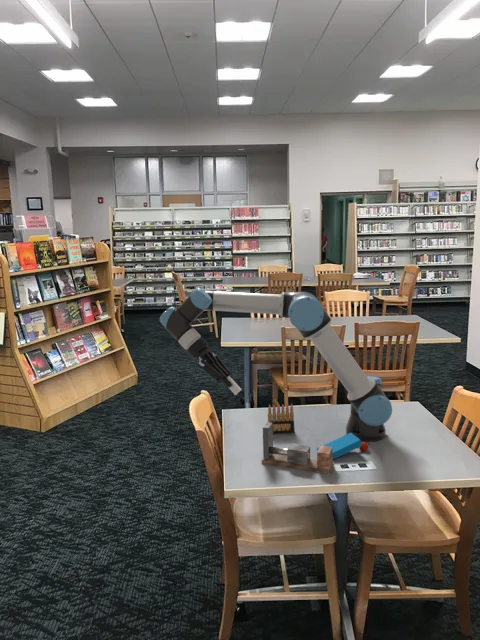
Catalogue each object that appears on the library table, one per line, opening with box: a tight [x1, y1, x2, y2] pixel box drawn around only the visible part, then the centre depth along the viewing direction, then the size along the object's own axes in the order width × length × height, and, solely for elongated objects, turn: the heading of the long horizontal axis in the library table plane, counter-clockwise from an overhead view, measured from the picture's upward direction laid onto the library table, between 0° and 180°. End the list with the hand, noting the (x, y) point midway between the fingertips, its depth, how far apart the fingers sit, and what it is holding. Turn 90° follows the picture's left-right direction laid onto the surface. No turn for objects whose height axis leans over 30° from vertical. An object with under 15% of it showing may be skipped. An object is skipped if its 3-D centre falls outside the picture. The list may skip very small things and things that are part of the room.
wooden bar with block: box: [261, 443, 335, 474], centre depth 168 cm, size 24×6×7 cm, turn 69°
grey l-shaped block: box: [262, 421, 311, 459], centre depth 169 cm, size 16×5×12 cm, turn 69°
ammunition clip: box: [267, 403, 296, 435], centre depth 196 cm, size 11×2×12 cm, turn 93°
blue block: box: [316, 433, 369, 461], centre depth 176 cm, size 7×7×18 cm
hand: (238, 392), depth 172 cm, fingers closed
